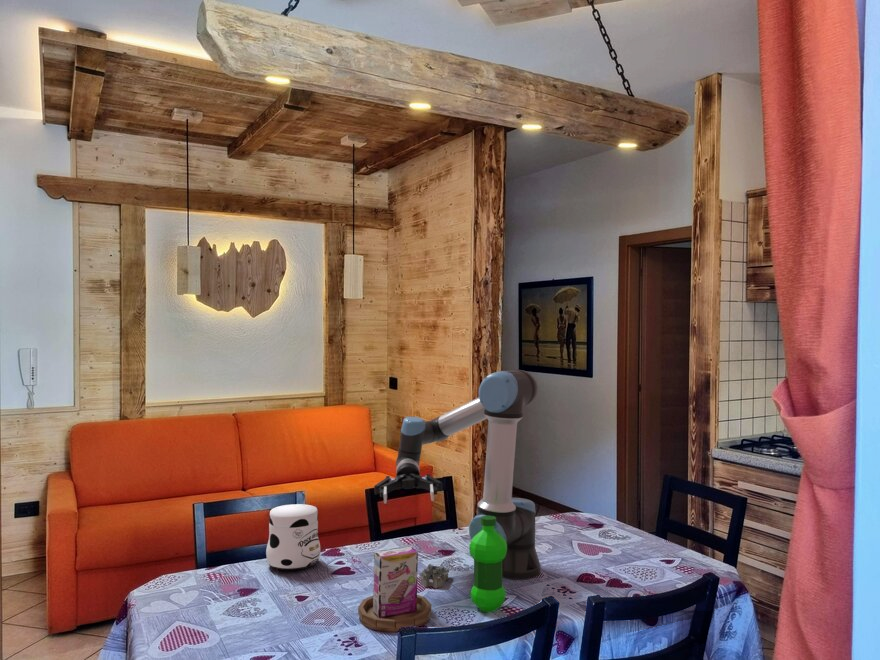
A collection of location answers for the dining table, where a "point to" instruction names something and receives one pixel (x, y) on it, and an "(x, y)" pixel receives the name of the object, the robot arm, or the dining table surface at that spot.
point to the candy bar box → (395, 582)
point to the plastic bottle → (488, 566)
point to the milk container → (293, 537)
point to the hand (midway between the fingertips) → (408, 497)
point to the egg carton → (434, 576)
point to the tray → (394, 621)
